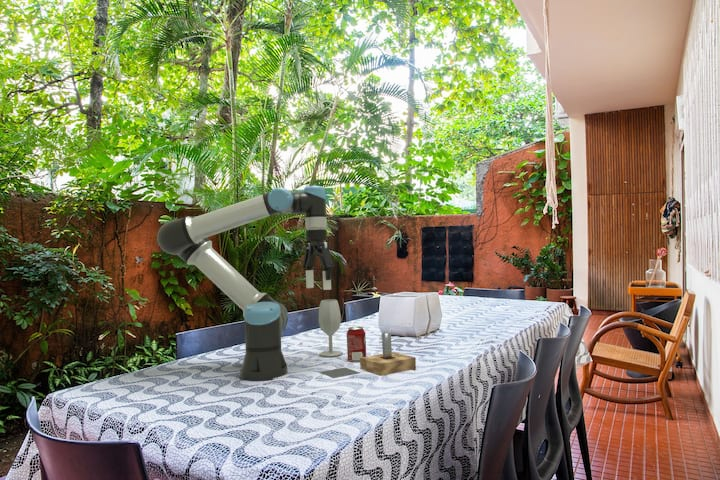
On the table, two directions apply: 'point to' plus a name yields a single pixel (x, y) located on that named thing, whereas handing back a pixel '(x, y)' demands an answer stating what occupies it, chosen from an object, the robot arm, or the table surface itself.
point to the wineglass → (329, 323)
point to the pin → (386, 346)
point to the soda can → (356, 344)
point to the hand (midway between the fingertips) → (318, 288)
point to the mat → (339, 372)
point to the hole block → (387, 364)
